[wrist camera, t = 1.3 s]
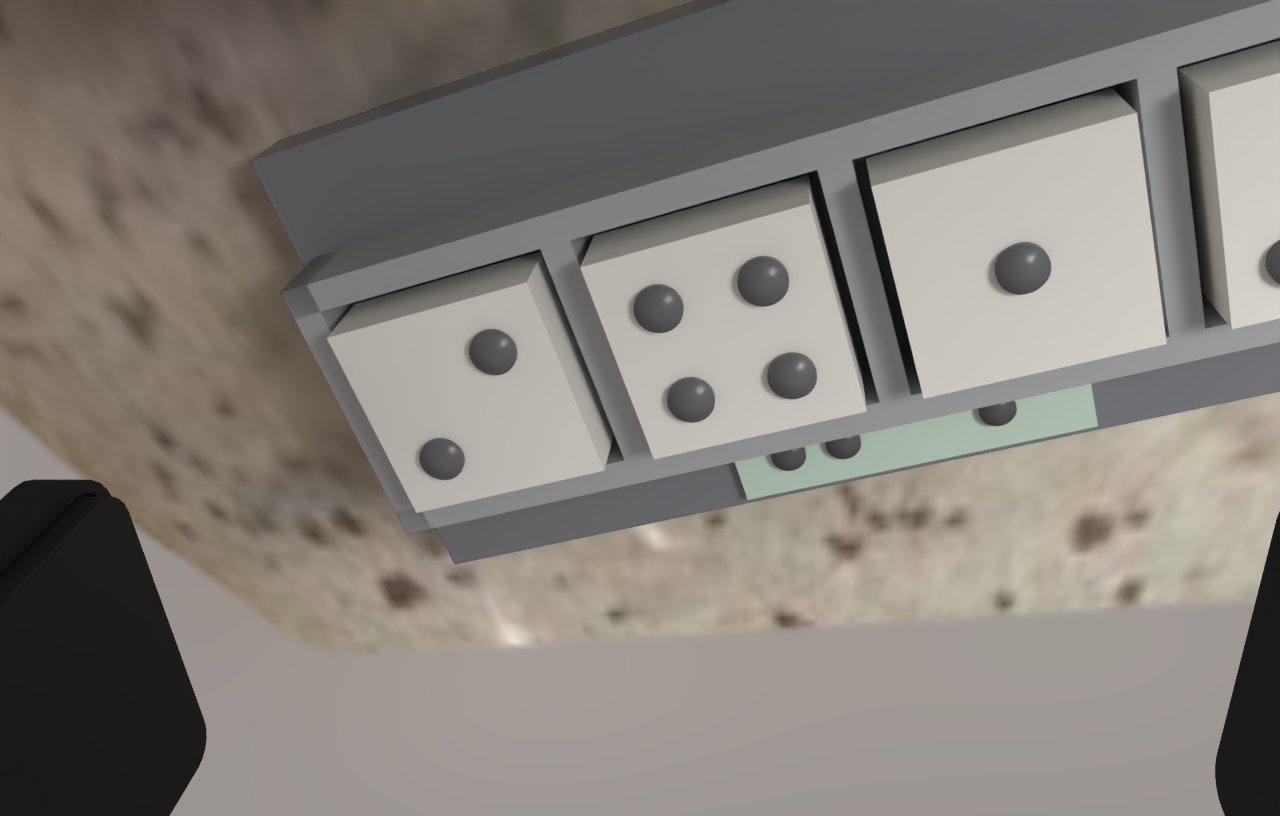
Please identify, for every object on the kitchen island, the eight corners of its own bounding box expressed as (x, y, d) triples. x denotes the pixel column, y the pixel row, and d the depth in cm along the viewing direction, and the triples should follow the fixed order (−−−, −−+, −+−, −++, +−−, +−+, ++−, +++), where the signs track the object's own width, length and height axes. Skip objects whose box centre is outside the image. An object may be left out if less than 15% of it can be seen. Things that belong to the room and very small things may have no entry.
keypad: (1470, -260, 24) (1603, -268, 20) (1465, 311, 30) (1566, 391, 26) (279, 140, 31) (207, 191, 28) (469, 528, 38) (433, 614, 34)
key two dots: (543, 250, 28) (524, 285, 26) (615, 430, 31) (602, 474, 29) (354, 303, 30) (323, 341, 28) (437, 471, 32) (414, 516, 30)
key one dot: (1111, 88, 25) (1139, 115, 23) (1141, 306, 27) (1169, 348, 25) (865, 158, 26) (871, 189, 24) (915, 359, 29) (924, 403, 27)
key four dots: (808, 174, 27) (809, 206, 25) (861, 372, 29) (867, 415, 27) (593, 235, 28) (578, 270, 26) (661, 419, 31) (653, 463, 29)
